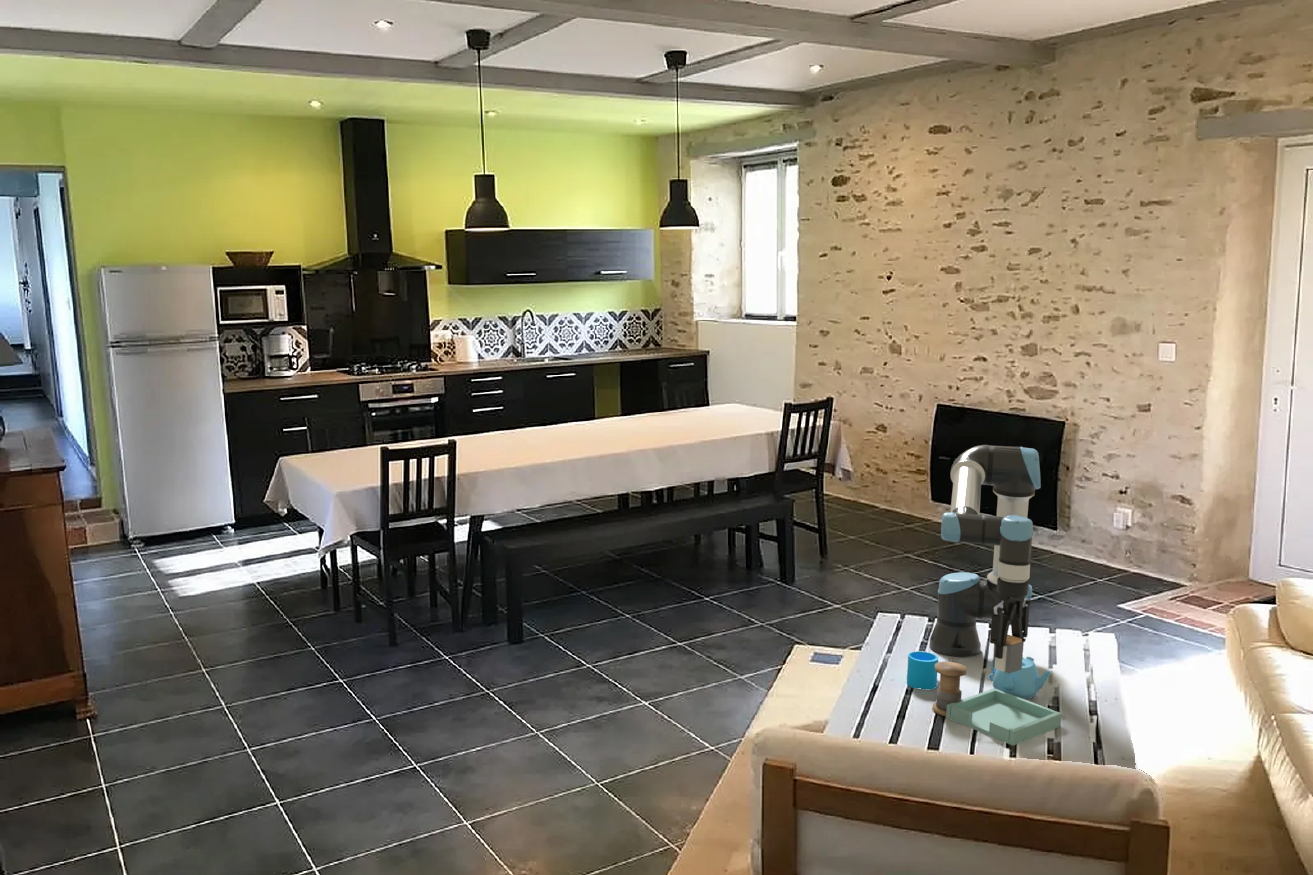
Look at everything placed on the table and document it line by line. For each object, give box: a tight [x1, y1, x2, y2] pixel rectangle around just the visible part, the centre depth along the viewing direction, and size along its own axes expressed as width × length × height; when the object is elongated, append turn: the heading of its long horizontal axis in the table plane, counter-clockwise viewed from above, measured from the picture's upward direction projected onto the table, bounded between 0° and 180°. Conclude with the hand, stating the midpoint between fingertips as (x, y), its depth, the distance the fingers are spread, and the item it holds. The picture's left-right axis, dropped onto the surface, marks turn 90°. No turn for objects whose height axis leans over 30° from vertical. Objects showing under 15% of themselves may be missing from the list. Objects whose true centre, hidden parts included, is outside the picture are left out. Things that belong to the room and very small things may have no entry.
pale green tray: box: [945, 687, 1062, 746], centre depth 268 cm, size 20×20×4 cm
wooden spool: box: [931, 661, 968, 717], centre depth 273 cm, size 8×8×12 cm
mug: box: [906, 651, 939, 690], centre depth 293 cm, size 12×8×8 cm
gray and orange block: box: [992, 633, 1024, 673], centre depth 265 cm, size 5×5×8 cm
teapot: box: [988, 656, 1052, 700], centre depth 285 cm, size 15×14×11 cm
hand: (1006, 667), depth 266 cm, fingers closed on gray and orange block, 5 cm apart
